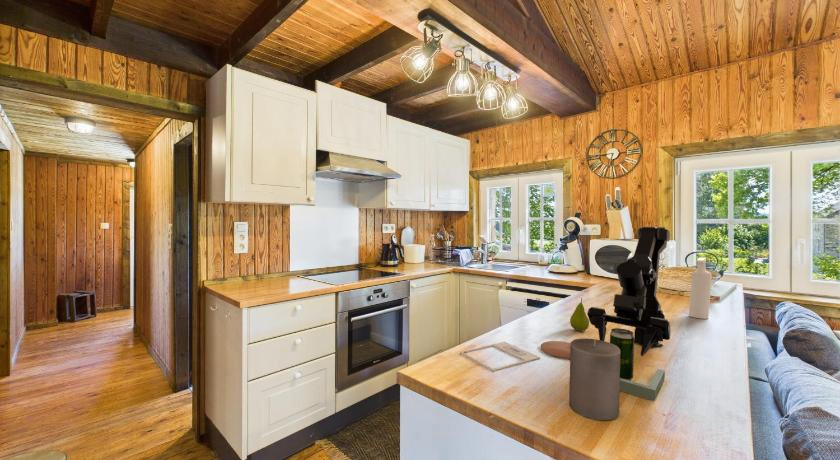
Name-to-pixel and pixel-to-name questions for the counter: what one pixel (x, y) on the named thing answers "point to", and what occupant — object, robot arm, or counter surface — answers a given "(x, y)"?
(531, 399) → the counter surface
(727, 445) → the counter surface
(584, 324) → the fruit
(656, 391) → the green u-shaped bracket
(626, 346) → the beer can
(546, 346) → the saucer
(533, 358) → the photo frame
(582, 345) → the pillar candle
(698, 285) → the beige bottle
